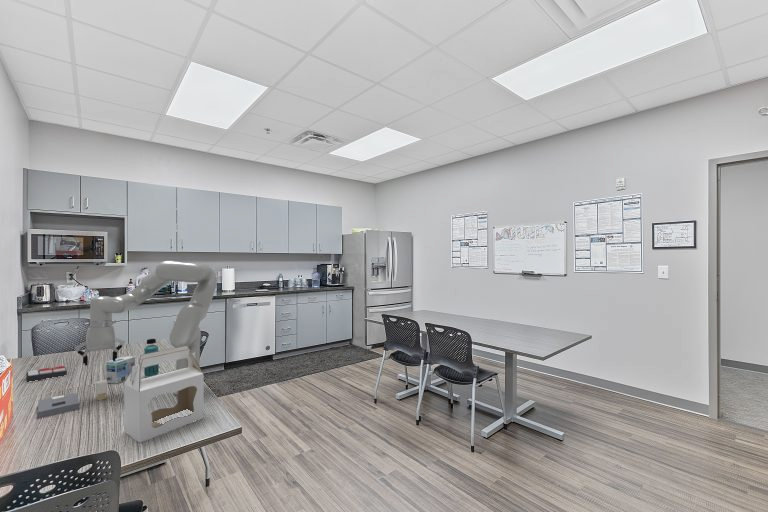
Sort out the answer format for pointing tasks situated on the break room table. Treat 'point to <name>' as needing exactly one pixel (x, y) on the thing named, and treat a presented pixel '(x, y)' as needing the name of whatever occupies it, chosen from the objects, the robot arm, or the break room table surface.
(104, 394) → the plug
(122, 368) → the light bulb box
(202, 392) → the gable box
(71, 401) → the socket plate
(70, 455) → the break room table surface
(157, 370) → the beverage bottle
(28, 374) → the sushi tray
